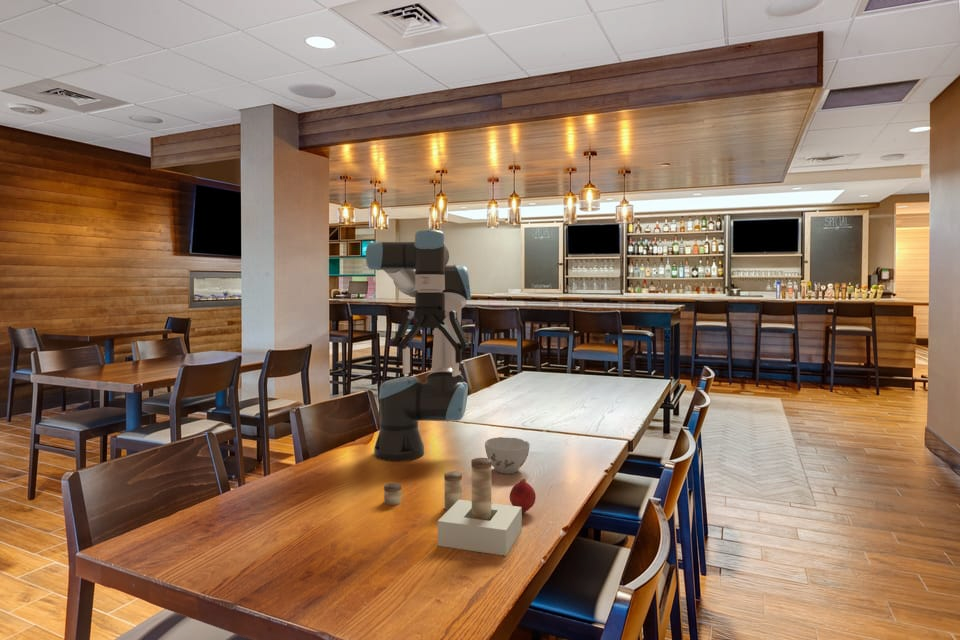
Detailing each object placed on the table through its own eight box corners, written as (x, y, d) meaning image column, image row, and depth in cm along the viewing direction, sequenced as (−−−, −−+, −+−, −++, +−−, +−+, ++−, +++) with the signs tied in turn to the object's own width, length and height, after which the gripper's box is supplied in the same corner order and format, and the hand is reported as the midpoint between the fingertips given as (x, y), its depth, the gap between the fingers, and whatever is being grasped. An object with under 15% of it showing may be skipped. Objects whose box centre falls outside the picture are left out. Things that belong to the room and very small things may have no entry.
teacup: (516, 481, 150) (516, 451, 149) (476, 473, 156) (475, 444, 156) (541, 466, 162) (541, 438, 162) (502, 459, 169) (502, 432, 168)
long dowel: (468, 540, 114) (468, 462, 113) (475, 532, 118) (475, 456, 117) (488, 543, 113) (488, 464, 112) (494, 535, 117) (494, 458, 116)
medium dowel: (441, 510, 130) (441, 475, 130) (448, 503, 134) (448, 470, 134) (458, 512, 129) (458, 477, 128) (464, 505, 133) (464, 472, 132)
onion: (528, 520, 124) (528, 484, 124) (505, 514, 127) (505, 479, 127) (539, 511, 129) (539, 476, 129) (517, 506, 132) (517, 472, 132)
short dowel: (381, 504, 134) (380, 487, 134) (389, 498, 138) (388, 482, 137) (396, 506, 132) (396, 489, 132) (404, 500, 136) (404, 483, 136)
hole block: (438, 545, 112) (437, 520, 112) (459, 521, 123) (458, 499, 123) (506, 555, 108) (506, 530, 107) (521, 530, 119) (521, 506, 119)
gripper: (379, 291, 145) (380, 374, 146) (471, 291, 137) (471, 379, 138) (392, 291, 152) (393, 370, 153) (481, 291, 144) (481, 374, 145)
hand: (430, 374), depth 146 cm, fingers open, 13 cm apart
